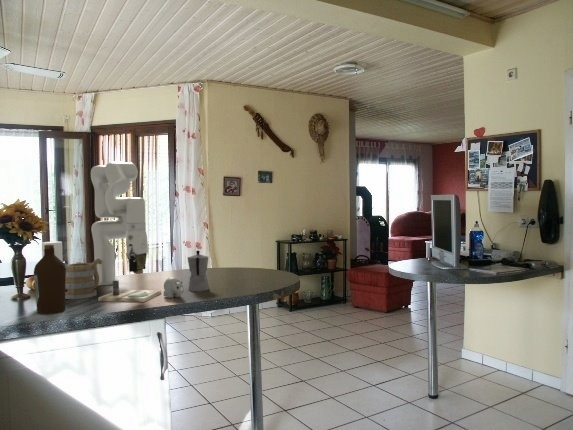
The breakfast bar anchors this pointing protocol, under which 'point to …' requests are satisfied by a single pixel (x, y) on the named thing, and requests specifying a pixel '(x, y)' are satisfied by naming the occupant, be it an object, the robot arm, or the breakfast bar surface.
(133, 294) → the board
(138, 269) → the cup
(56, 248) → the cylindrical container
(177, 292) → the chubby cartoon animal
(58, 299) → the olive oil
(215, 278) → the breakfast bar surface
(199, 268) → the coffeepot
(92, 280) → the tankard
